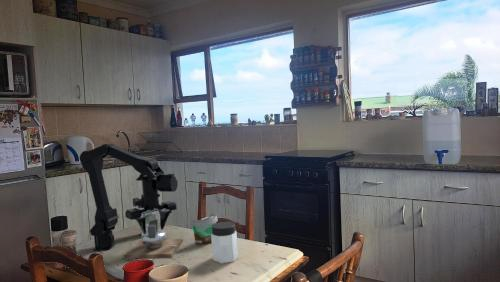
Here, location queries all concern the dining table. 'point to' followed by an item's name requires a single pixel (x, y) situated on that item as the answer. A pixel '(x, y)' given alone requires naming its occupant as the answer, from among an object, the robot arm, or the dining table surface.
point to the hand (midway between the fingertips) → (153, 231)
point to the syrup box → (149, 218)
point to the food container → (204, 229)
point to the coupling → (153, 234)
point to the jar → (224, 242)
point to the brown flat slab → (154, 249)
